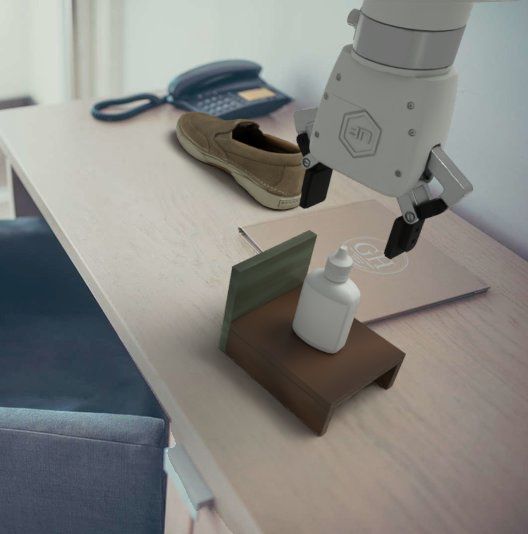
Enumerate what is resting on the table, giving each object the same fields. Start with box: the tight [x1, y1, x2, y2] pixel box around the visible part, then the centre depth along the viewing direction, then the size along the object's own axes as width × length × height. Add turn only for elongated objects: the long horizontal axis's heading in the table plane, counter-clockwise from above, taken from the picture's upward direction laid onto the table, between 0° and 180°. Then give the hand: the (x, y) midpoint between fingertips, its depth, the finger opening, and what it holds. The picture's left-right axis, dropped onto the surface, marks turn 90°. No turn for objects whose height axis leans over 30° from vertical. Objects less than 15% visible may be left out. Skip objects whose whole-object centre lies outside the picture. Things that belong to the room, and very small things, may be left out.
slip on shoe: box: [175, 111, 306, 210], centre depth 105 cm, size 30×11×9 cm, turn 25°
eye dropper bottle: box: [292, 245, 362, 354], centre depth 65 cm, size 4×6×12 cm
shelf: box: [218, 229, 407, 437], centre depth 69 cm, size 15×12×12 cm
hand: (352, 227), depth 59 cm, fingers open, 9 cm apart
